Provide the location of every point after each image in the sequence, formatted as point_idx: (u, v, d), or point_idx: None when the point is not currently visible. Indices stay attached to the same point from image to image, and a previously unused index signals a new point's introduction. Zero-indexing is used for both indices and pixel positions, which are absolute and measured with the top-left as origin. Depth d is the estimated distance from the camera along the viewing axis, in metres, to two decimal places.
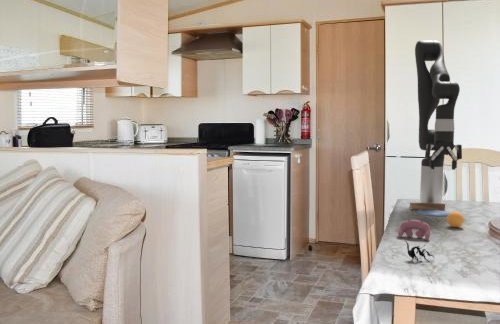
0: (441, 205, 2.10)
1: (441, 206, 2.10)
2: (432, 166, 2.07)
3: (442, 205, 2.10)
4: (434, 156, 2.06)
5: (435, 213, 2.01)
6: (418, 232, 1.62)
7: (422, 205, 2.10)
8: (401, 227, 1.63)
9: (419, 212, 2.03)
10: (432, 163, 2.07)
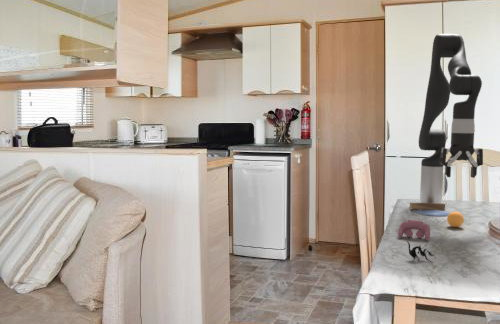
0: (441, 205, 2.10)
1: (441, 206, 2.10)
2: (448, 173, 1.78)
3: (442, 205, 2.10)
4: (450, 162, 1.77)
5: (435, 213, 2.01)
6: (418, 232, 1.62)
7: (422, 205, 2.10)
8: (401, 227, 1.63)
9: (419, 212, 2.03)
10: (448, 170, 1.78)
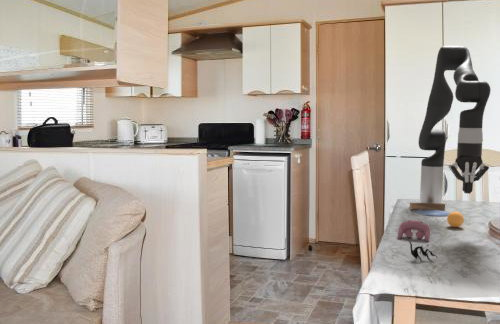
0: (441, 205, 2.10)
1: (441, 206, 2.10)
2: (466, 189, 1.67)
3: (442, 205, 2.10)
4: (466, 177, 1.66)
5: (435, 213, 2.01)
6: (418, 233, 1.61)
7: (422, 205, 2.10)
8: (401, 228, 1.62)
9: (419, 212, 2.03)
10: (466, 186, 1.67)
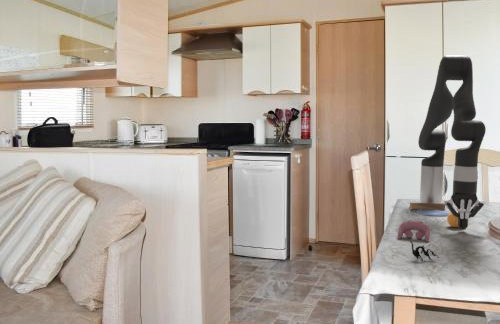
0: (441, 205, 2.10)
1: (441, 206, 2.10)
2: (461, 226, 1.71)
3: (442, 205, 2.10)
4: (461, 213, 1.70)
5: (435, 213, 2.01)
6: (418, 233, 1.61)
7: (422, 205, 2.10)
8: (401, 228, 1.62)
9: (419, 212, 2.03)
10: (461, 222, 1.71)
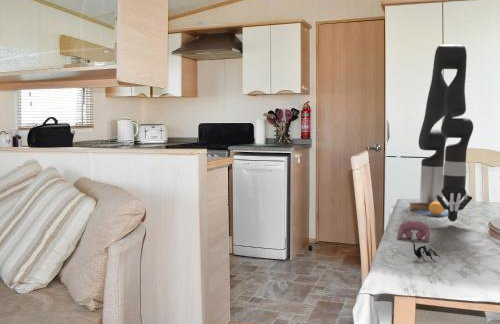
0: None
1: None
2: (451, 218, 1.80)
3: None
4: (451, 206, 1.80)
5: None
6: (418, 233, 1.61)
7: (422, 205, 2.10)
8: (401, 228, 1.62)
9: (419, 212, 2.03)
10: (451, 214, 1.80)
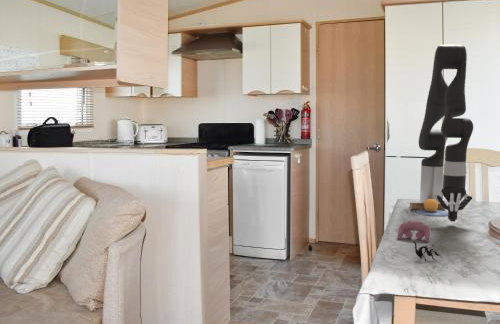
0: None
1: (441, 206, 2.10)
2: (451, 218, 1.80)
3: None
4: (451, 206, 1.80)
5: (435, 213, 2.01)
6: (418, 233, 1.60)
7: (422, 205, 2.10)
8: (400, 228, 1.61)
9: (419, 212, 2.03)
10: (451, 214, 1.80)
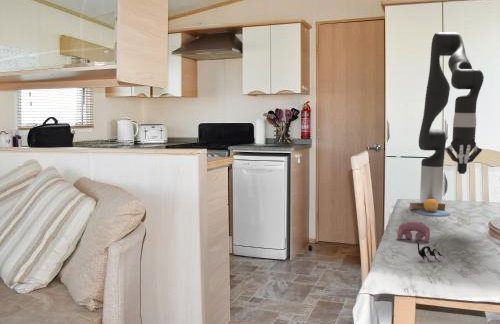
0: (441, 205, 2.10)
1: (441, 206, 2.10)
2: (460, 170, 1.80)
3: (442, 205, 2.10)
4: (460, 158, 1.79)
5: (435, 213, 2.01)
6: (417, 234, 1.60)
7: (422, 205, 2.10)
8: (400, 229, 1.61)
9: (419, 212, 2.03)
10: (460, 167, 1.80)
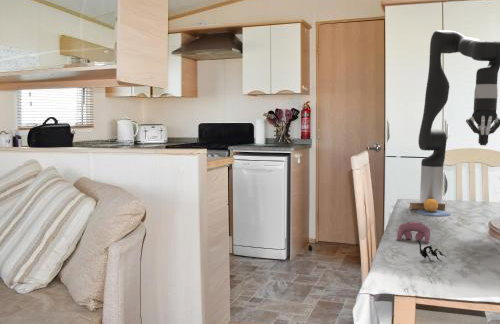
0: (441, 205, 2.10)
1: (441, 206, 2.10)
2: (482, 142, 1.81)
3: (442, 205, 2.10)
4: (482, 130, 1.80)
5: (435, 213, 2.01)
6: (417, 234, 1.59)
7: (422, 205, 2.10)
8: (400, 229, 1.60)
9: (419, 212, 2.03)
10: (482, 138, 1.81)
